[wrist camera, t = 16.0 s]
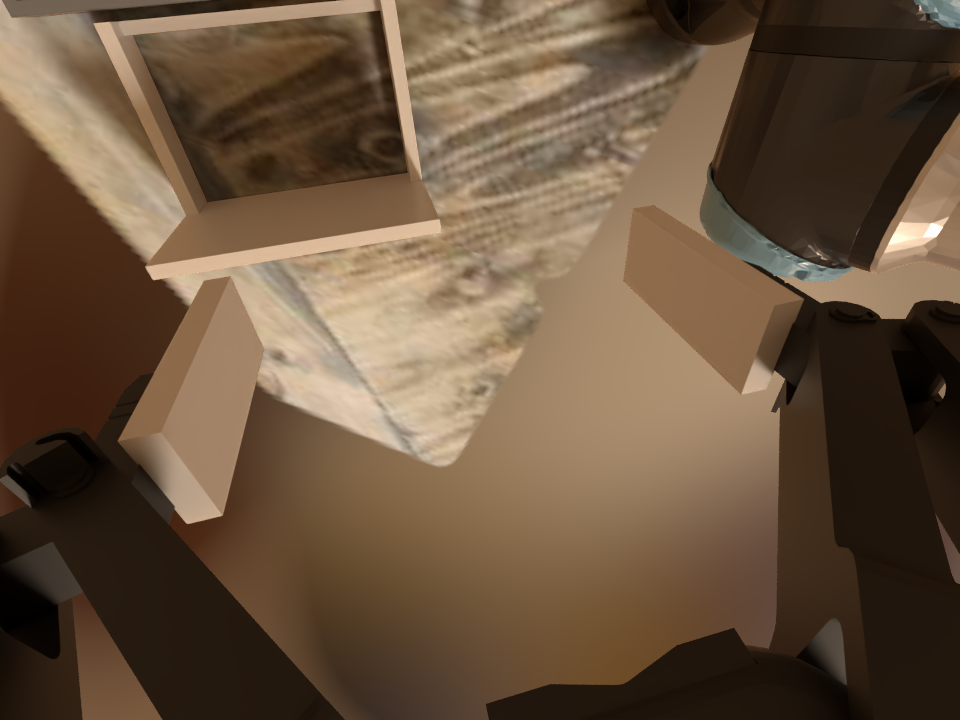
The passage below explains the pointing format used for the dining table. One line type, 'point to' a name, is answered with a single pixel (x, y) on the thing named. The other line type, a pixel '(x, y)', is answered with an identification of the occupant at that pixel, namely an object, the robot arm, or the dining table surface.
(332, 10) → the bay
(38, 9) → the tray
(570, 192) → the dining table surface
